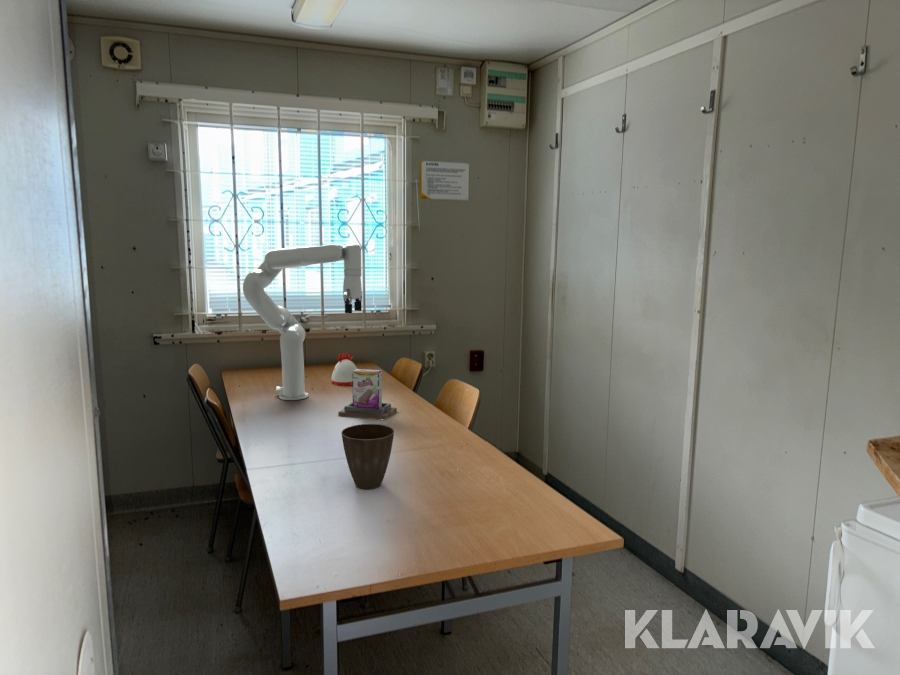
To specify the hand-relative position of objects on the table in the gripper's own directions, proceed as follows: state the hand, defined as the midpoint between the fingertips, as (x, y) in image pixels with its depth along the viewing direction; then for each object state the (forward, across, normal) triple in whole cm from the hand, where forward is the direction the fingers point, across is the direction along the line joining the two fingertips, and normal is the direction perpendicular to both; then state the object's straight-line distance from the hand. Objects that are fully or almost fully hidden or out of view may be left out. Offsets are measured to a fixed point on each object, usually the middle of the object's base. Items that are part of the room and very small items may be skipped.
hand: (353, 311), depth 273 cm
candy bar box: (+37, +24, +17) cm, 47 cm away
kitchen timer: (+39, -24, -16) cm, 48 cm away
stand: (+38, +24, +17) cm, 48 cm away
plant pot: (+38, +92, +47) cm, 110 cm away
